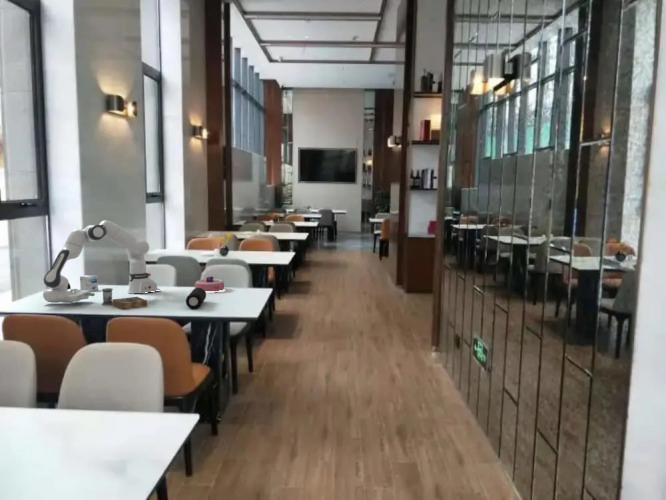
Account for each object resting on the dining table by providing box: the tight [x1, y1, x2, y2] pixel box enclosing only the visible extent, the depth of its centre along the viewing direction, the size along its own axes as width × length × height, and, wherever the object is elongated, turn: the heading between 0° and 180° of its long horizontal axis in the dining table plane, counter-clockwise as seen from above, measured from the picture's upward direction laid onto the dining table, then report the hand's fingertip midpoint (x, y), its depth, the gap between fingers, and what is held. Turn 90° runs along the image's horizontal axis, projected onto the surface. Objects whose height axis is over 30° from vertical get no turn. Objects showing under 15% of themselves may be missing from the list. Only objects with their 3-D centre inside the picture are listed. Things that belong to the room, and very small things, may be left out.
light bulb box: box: [79, 274, 99, 292], centre depth 411 cm, size 11×7×11 cm, turn 71°
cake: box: [194, 276, 225, 291], centre depth 415 cm, size 25×25×11 cm
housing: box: [101, 287, 114, 306], centre depth 362 cm, size 7×7×10 cm
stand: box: [112, 296, 148, 310], centre depth 357 cm, size 16×16×4 cm
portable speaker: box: [185, 287, 207, 309], centre depth 361 cm, size 26×10×10 cm, turn 5°
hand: (91, 296), depth 362 cm, fingers open, 8 cm apart
